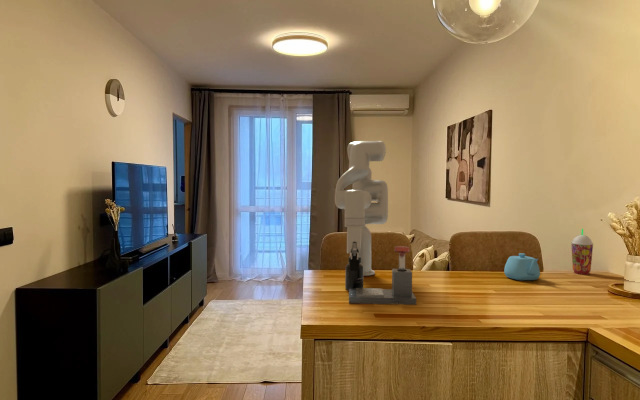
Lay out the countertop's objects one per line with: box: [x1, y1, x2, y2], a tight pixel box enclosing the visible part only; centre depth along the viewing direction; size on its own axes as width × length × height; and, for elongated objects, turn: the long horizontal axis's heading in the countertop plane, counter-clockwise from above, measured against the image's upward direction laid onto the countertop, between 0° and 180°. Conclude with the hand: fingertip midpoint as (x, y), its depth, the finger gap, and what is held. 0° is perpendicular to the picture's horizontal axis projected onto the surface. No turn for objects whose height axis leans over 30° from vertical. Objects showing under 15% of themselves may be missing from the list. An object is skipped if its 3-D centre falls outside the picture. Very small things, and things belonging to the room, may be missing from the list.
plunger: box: [394, 245, 410, 271], centre depth 144 cm, size 5×5×12 cm
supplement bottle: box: [344, 256, 364, 291], centre depth 160 cm, size 7×7×12 cm
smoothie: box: [570, 228, 594, 276], centre depth 189 cm, size 8×8×20 cm
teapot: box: [503, 252, 541, 281], centre depth 177 cm, size 13×11×18 cm
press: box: [348, 268, 417, 305], centre depth 145 cm, size 12×22×10 cm, turn 86°
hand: (354, 268), depth 159 cm, fingers open, 9 cm apart
